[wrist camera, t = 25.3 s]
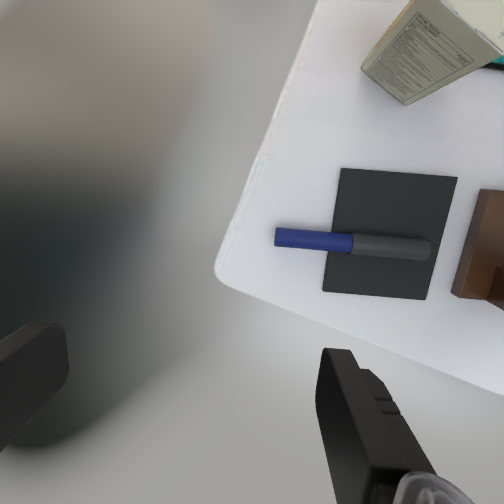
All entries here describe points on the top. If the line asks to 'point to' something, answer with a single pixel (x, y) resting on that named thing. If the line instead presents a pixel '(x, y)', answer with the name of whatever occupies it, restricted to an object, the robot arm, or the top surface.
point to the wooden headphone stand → (483, 252)
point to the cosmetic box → (436, 45)
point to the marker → (355, 244)
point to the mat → (388, 230)
